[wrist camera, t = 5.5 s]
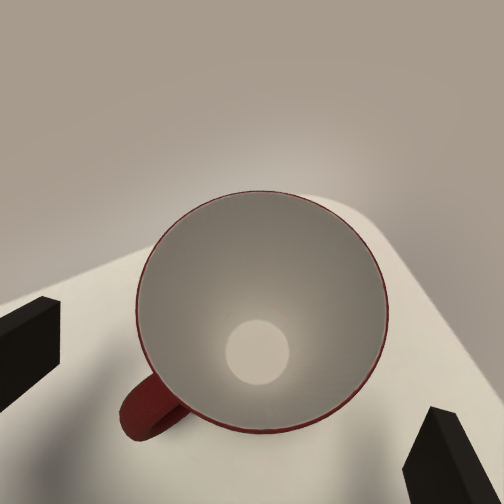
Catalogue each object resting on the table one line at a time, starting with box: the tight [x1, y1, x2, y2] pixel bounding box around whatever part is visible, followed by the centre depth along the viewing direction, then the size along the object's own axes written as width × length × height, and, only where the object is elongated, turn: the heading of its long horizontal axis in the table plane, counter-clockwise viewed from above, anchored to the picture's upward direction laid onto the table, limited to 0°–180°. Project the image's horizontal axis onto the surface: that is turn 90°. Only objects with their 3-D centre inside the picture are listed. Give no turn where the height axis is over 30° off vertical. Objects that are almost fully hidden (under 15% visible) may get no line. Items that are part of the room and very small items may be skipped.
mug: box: [119, 191, 389, 442], centre depth 15 cm, size 10×8×10 cm
